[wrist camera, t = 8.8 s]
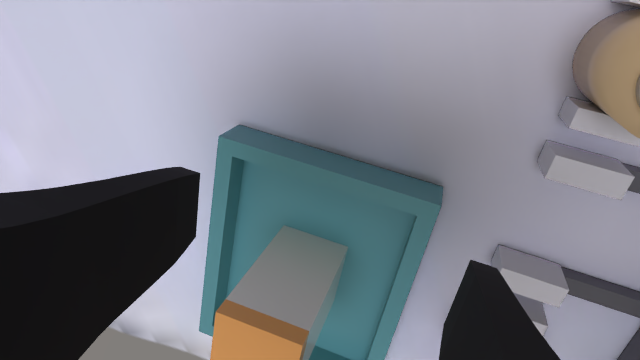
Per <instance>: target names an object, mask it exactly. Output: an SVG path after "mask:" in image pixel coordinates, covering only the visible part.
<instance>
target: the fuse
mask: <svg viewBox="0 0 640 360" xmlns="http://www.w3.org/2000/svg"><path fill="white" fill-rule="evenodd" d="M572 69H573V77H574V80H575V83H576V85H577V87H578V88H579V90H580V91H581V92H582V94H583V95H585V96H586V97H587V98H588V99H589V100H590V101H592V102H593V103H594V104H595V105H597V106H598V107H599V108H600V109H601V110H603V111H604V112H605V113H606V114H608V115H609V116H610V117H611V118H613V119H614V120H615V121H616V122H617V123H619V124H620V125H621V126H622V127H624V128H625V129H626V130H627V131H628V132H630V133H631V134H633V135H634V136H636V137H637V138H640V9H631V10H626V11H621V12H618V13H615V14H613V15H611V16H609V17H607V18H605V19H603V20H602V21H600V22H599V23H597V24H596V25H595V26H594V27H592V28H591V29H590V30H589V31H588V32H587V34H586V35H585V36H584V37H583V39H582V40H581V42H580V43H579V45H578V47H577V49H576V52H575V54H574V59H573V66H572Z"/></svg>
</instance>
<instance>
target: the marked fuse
mask: <svg viewBox="0 0 640 360" xmlns="http://www.w3.org/2000/svg"><path fill="white" fill-rule="evenodd" d="M347 250H348V247H347V246H344V245H341V244H338V243H335V242H332V241H329V240H326V239H323V238H320V237H317V236H315V235H312V234H309V233H306V232H303V231H300V230H297V229H294V228H291V227H288V226H285V225H284V226H283V227H282V228H281V230H280V231H279V232H278V233H277V235H276V236H275V237H274V238H273V240H272V241H271V242H270V243H269V245H268V246H267V247H266V249H265V250H264V251H263V252H262V254H261V255H260V256H259V257H258V259H257V260H256V261H255V263H254V264H253V265H252V266H251V268H250V269H249V270H248V271H247V273H246V274H245V275H244V276H243V278H242V279H241V280H240V282H239V283H238V284H237V285H236V287H235V288H234V289H233V290H232V292H231V293H230V294H229V296H228V297H227V298H226V299H225V301H224V302H223V303H222V304H221V306H220V307H219V308H218V310H217V311H216V314H215V322H214V331H213V340H212V349H211V358H210V360H309V358H310V356H311V353H312V351H313V349H314V346H315V344H316V341H317V339H318V337H319V334H320V332H321V330H322V327H323V325H324V323H325V320H326V318H327V316H328V313H329V311H330V309H331V306H332V304H333V302H334V299H335V295H336V291H337V287H338V284H339V280H340V276H341V272H342V269H343V265H344V261H345V257H346V254H347Z"/></svg>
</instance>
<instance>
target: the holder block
mask: <svg viewBox="0 0 640 360" xmlns="http://www.w3.org/2000/svg"><path fill="white" fill-rule="evenodd" d="M611 2H616V3H621V4H625V5H630V6H635V7H640V0H611ZM558 116H559V117H560V118H561V119H562V121H563V122H564V123H565V124H566V125H567V127H568V128H570V129H574V130H577V131H581V132H585V133H589V134H592V135H596V136H600V137H604V138H608V139H611V140H615V141H619V142H623V143H626V144H630V145H634V146H638V147H640V138H637V137H636V136H634V135H633V134H631V133H630V132H628V131H627V130H626V129H625V128H624V127H622V126H621V125H620V124H619V123H617V122H616V121H615V120H614V119H613V118H611V117H610V116H609V115H608V114H606V113H605V112H604V111H603V110H601V109H600V108H599V107H598V106H597V105H595V104H594V103H591V102H587V101H583V100H579V99H575V98H571V97H566V99H565V101H564V104H563V106H562V108H561V110H560V112H559V114H558ZM537 163H538V165H539V167H540V169H541V171H542V174H543V176H544V178H545V179H548V180H552V181H555V182H559V183H562V184H566V185H569V186H573V187H576V188H580V189H583V190H587V191H590V192H593V193H597V194H600V195H604V196H607V197H611V198H614V199H618V200H622V198H623V197H624V195H625V193H626V191H627V190H629V191H632V192H636V193H639V194H640V168H638V167H635V166H631V165H627V164H624V163H621V162H620V161H619V160H618V159H615V158H611V157H607V156H604V155H600V154H596V153H593V152H589V151H585V150H582V149H578V148H574V147H571V146H567V145H563V144H560V143H556V142H552V141H549V140H547V141H546V143H545V145H544V147H543V149H542V151H541V154H540V156H539V158H538V160H537ZM491 266H492V267H495V268H497V269H498V270H499V272H500V273H501V275H502V276H503V278H504V279H505V281H506V282H507V284H508V285H509V287H510V289H511V290H512V292H513V293H514V295H515V296H516V298H517V299H518V301H519V302H520V304H521V306H522V307H523V309H524V310H525V312H526V313H527V315H528V316H529V317H530V319H531V320H532V322H533V323H534V325H535V326H536V328H537V329H538V330H539V332H540V333H541V335H542V336H543V335H544V333H545V331H546V330H547V328H548V324H547V320H546V316H545V312H544V309H543V305H542V302H543V303H546V304H549V305H552V306H555V307H558V308H559V307H560V305H561V304H562V302H563V300H564V298H565V297H566V295H567V294H569V295H572V296H575V297H578V298H581V299H584V300H587V301H590V302H593V303H596V304H599V305H602V306H605V307H608V308H611V309H614V310H617V311H620V312H623V313H626V314H629V315H632V316H635V317H638V318H640V292H638V291H635V290H631V289H628V288H625V287H622V286H619V285H616V284H613V283H610V282H607V281H604V280H601V279H597V278H594V277H591V276H588V275H585V274H582V273H579V272H576V271H573V270H570V269H566V268H563V267H561V266H560V264H557V263H554V262H551V261H548V260H545V259H542V258H539V257H535V256H532V255H529V254H526V253H523V252H520V251H517V250H514V249H511V248H507V247H504V246H501V245H498V247H497V249H496V251H495V254H494V256H493V258H492V260H491ZM618 360H640V328H639V330H638V331H637V333H636V334H635V336H634V337H633V338H632V340H631V341H630V343H629V344H628V345H627V347H626V348H625V350H624V351H623V353H622V354H621V355H620V357H619V358H618Z"/></svg>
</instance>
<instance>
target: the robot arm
mask: <svg viewBox="0 0 640 360" xmlns="http://www.w3.org/2000/svg"><path fill="white" fill-rule="evenodd" d="M199 182H200V173H198V172H195V171H192V170H188V169H185V168H182V167H172V168H164V169H158V170H152V171H147V172H141V173H136V174H131V175H126V176H121V177H116V178H110V179H105V180H100V181H94V182H87V183H81V184H75V185H69V186H63V187H56V188H49V189H40V190H31V191H20V192H9V193H0V360H78V359H79V358H80V357H81V356H82V355H83V353H84V352H85V351H86V350H87V349H88V348H89V347H90V345H91V344H92V343H93V342H94V341H95V340H96V338H97V337H98V336H99V335H100V334H101V333H102V332H103V331H104V330H105V329H106V328H107V327H108V326H109V325H110V324H111V323H112V322H113V321H114V320H115V319H116V318H117V317H118V316H119V315H121V314H122V313H123V312H124V311H125V310H126V309H127V308H128V307H129V306H130V305H131V304H132V303H133V302H134V301H136V300H137V299H138V298H139V297H140V296H141V295H142V294H143V293H144V292H145V291H146V290H147V289H148V288H150V287H151V286H152V285H153V284H154V283H155V282H156V281H157V280H158V279H159V278H160V277H161V276H162V275H163V274H164V273H165V272H166V271H167V270H168V269H170V268H171V267H172V266H173V265H174V264H175V262H176V261H177V260H178V259H179V258H180V256H181V255H182V254H183V253H184V251H185V250H186V249H187V248H188V246H189V245H190V244H191V242H192V241H193V240H194V238H195V237H196V225H197V211H198V196H199ZM439 360H560V359H559V357H558V356H557V355H556V353H555V352H554V351H553V350H552V348H551V347H550V346H549V344H548V343H547V342H546V340H545V339H544V337H543V336H542V335H541V333H540V332H539V330H538V329H537V328H536V326H535V325H534V323H533V322H532V320H531V319H530V317H529V316H528V315H527V313H526V312H525V310H524V309H523V307H522V306H521V304H520V302H519V301H518V299H517V298H516V296H515V295H514V293H513V292H512V290H511V289H510V287H509V285H508V284H507V282H506V281H505V279H504V278H503V276H502V275H501V273H500V272H499V270H498V269H497V268H495V267H492V266H488V265H485V264H482V263H479V262H476V261H473V260H470V262H469V265H468V267H467V270H466V272H465V275H464V277H463V279H462V282H461V284H460V287H459V289H458V292H457V294H456V296H455V299H454V301H453V304H452V306H451V309H450V311H449V313H448V316H447V318H446V321H445V323H444V328H443V334H442V341H441V348H440V355H439Z"/></svg>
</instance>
